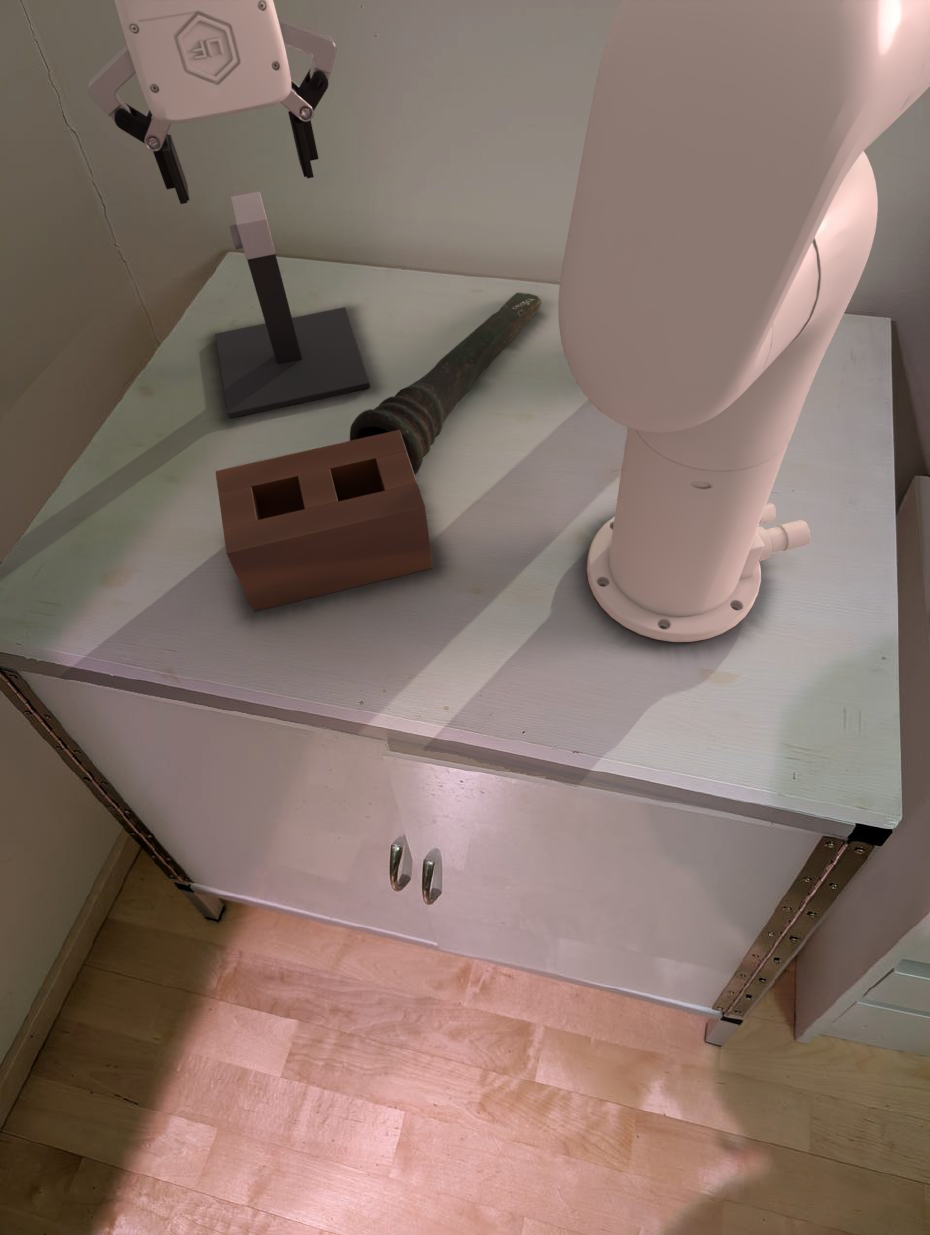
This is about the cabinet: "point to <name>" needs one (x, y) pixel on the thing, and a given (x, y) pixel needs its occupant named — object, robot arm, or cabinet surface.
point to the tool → (445, 382)
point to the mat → (290, 364)
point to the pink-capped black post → (265, 274)
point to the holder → (323, 520)
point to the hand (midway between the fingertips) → (245, 182)
